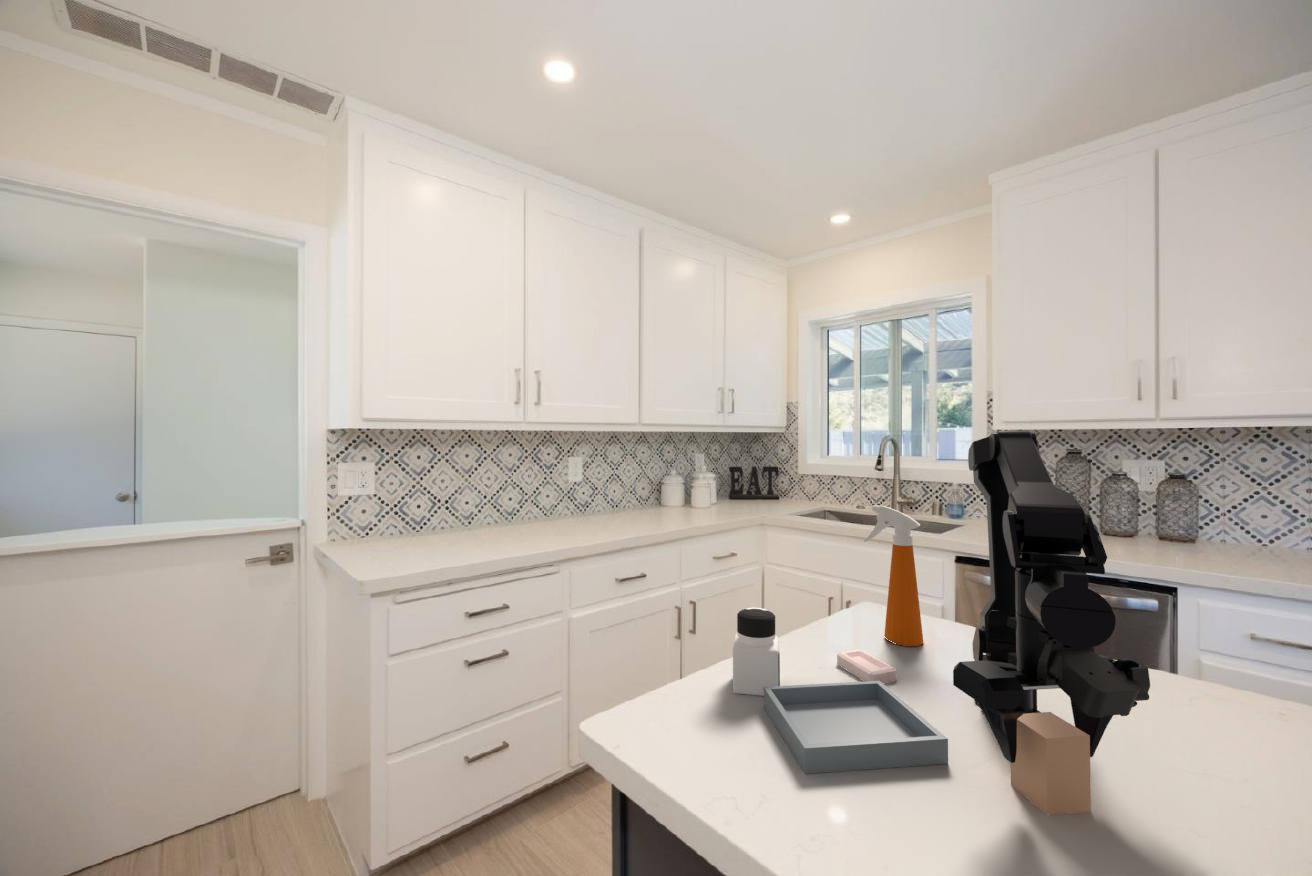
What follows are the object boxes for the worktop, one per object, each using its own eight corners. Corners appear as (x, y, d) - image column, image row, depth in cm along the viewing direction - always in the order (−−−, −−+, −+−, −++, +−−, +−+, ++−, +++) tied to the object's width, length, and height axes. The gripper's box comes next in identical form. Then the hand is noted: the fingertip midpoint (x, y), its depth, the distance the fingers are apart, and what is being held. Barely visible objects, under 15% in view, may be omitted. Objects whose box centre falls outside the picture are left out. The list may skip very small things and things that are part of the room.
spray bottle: (869, 628, 112) (868, 502, 113) (926, 638, 106) (925, 505, 106) (860, 638, 107) (859, 506, 107) (920, 650, 100) (918, 509, 101)
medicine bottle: (779, 698, 82) (779, 619, 82) (732, 694, 83) (732, 616, 83) (778, 678, 89) (778, 605, 89) (735, 674, 90) (734, 603, 90)
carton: (1051, 782, 61) (1050, 712, 62) (1090, 811, 57) (1089, 735, 57) (1010, 785, 61) (1009, 714, 61) (1047, 815, 56) (1046, 738, 56)
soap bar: (871, 688, 86) (871, 673, 86) (835, 665, 95) (835, 651, 95) (898, 683, 88) (898, 668, 88) (860, 661, 96) (860, 648, 96)
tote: (879, 700, 81) (879, 680, 81) (948, 763, 65) (947, 738, 65) (763, 707, 79) (763, 687, 79) (805, 774, 63) (804, 748, 63)
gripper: (1026, 647, 50) (1028, 815, 50) (1204, 638, 52) (1206, 800, 52) (949, 610, 61) (950, 747, 61) (1098, 604, 63) (1099, 737, 63)
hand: (1048, 758), depth 59 cm, fingers open, 9 cm apart
